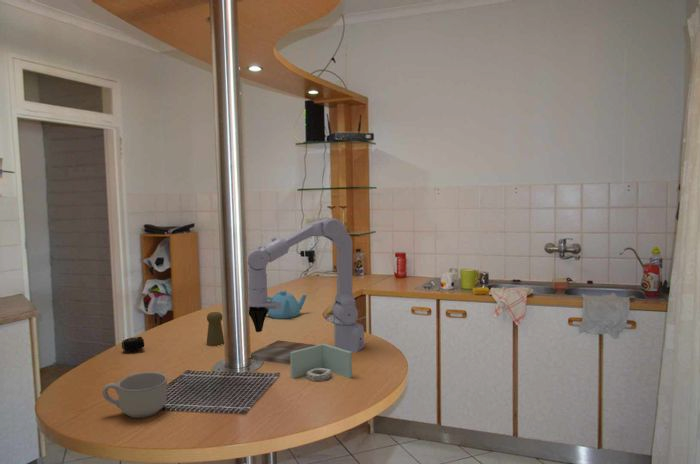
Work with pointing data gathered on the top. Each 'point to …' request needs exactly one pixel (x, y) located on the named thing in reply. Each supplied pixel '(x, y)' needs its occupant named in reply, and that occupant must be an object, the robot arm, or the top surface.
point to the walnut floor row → (290, 345)
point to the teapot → (286, 305)
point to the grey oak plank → (273, 354)
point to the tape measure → (132, 343)
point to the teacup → (139, 394)
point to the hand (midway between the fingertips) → (259, 331)
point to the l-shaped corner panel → (321, 362)
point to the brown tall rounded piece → (214, 329)
